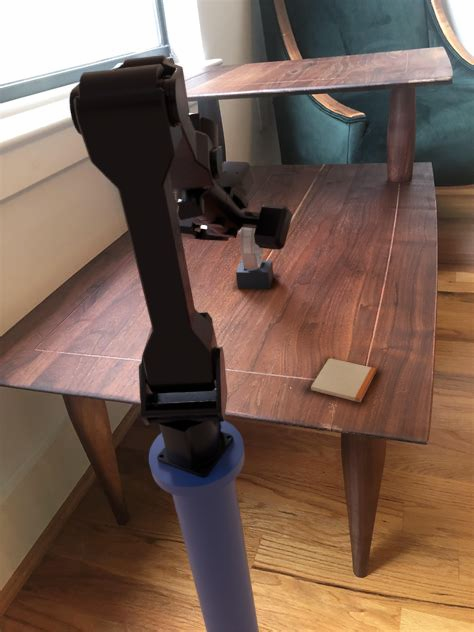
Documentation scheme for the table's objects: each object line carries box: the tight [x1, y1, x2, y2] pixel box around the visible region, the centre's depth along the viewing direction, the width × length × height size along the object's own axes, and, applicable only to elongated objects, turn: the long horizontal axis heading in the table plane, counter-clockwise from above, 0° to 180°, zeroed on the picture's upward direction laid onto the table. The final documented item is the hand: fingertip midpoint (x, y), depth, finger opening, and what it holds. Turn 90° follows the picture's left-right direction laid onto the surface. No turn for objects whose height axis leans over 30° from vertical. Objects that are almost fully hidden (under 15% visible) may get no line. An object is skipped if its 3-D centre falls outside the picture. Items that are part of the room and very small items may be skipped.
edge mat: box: [310, 357, 377, 403], centre depth 69 cm, size 6×6×1 cm
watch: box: [235, 227, 275, 290], centre depth 92 cm, size 6×8×11 cm
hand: (251, 241), depth 91 cm, fingers open, 9 cm apart
